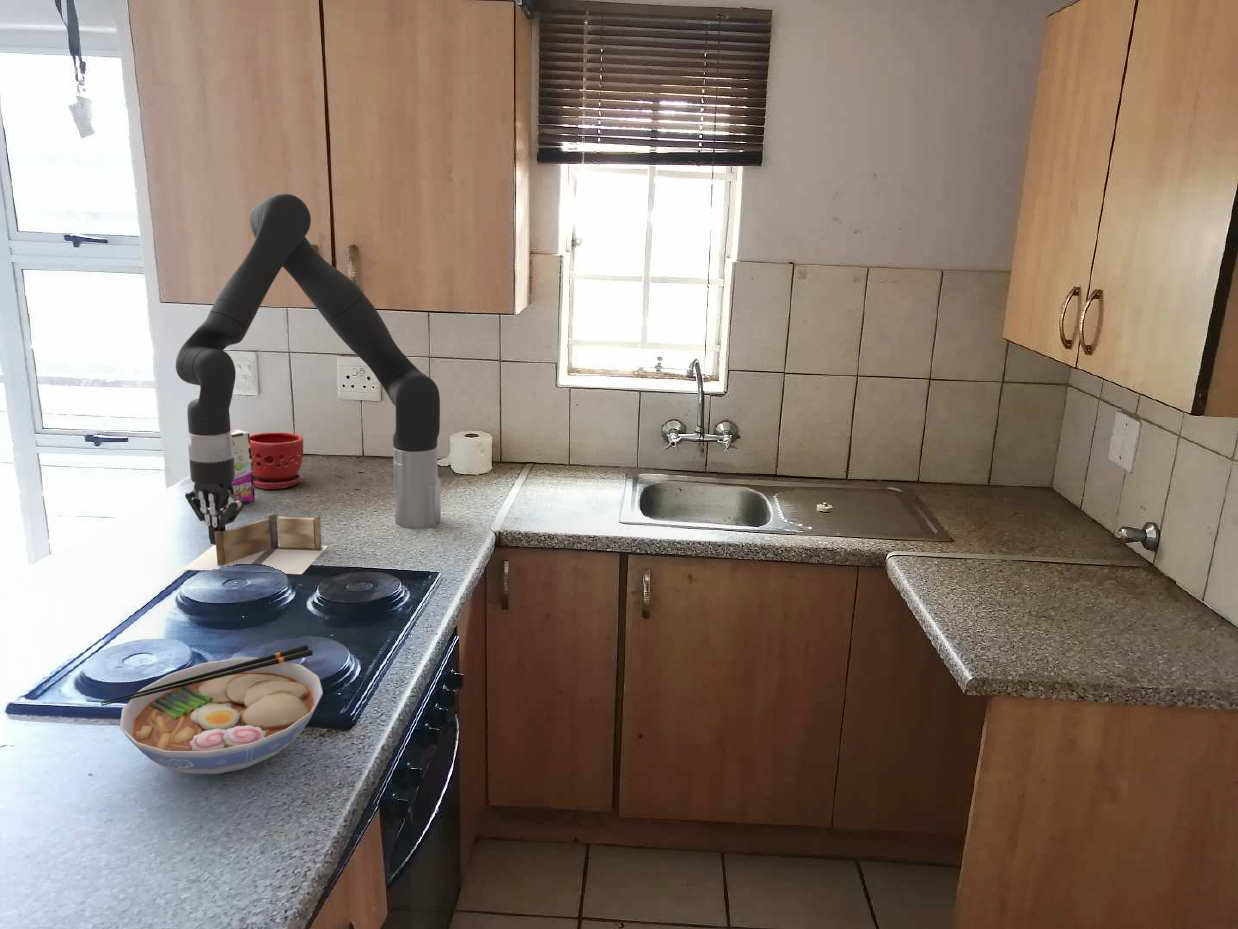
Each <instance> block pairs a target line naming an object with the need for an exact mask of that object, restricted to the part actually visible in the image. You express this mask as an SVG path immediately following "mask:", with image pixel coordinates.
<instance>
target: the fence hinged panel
mask: <svg viewBox="0 0 1238 929" xmlns="http://www.w3.org/2000/svg"><path fill="white" fill-rule="evenodd" d="M225 530H226V529H225ZM215 541H216V553H217V565H224V564H227V563H230V562H233V561H235V560H238V559H241V558H244V557H247V556H250V555H253V554H256V553H259V552H262V551H265V550H267V549H270V548H271V542H270V527H269V519H268V518H262V519H259V520H256V521H253V522H249V523H246V524H242V525H239V526H237V527H233V528H230V529H227V530H226V531H223V532H222V531H216V532H215Z"/></svg>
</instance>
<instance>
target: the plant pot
mask: <svg viewBox="0 0 1238 929" xmlns="http://www.w3.org/2000/svg"><path fill="white" fill-rule="evenodd" d="M249 437H250V448H251V459H252V470H253V482H254V487H256V488H260V490H261V489H263V490H264V489H265V490H281V489H285V488H289V487H292V486H295V485H296V484H298V483H299V482H300V480H301V475H300V474H299V471H300V470H301V467H302V463H303V458H304V438H303V436H301V435H299V434H295V433H290V432H261V433H255V434H250V435H249Z"/></svg>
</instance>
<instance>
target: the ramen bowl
mask: <svg viewBox="0 0 1238 929" xmlns="http://www.w3.org/2000/svg"><path fill="white" fill-rule="evenodd" d="M311 656H314V654H313V650H312V649H309V645H308V644H303V645H299V646H295V647H291V648H289V649H286V650H282V651H279V652H277V653H272V654H268V655H264V656H261V657H235V658H228V659H221V660H215V661H210V662H202V663H199V664H197V665H192V666H190V667H188V668H184V669H181V670H177V671H174V672H171V673H169V674H167V675H165V676H162V677H160V678H159V679H158V680H155V681H154V682H152V683H150V684H148V685H146V686H144V687H143V688H141V689H139V690H138V691H136V692H133V693H130V694H127V695H122V696H119V697H116V698H112V699H108V700H104V701H101V702H100V704H101V705H100V707H103V706H107V705H112V704H116V703H120V702H124V701H128V700H129V701H128V702H127V703H126V704H125V705H124V706H123V707H122V709H121V715H120V721H119V729H120V730H121V731H122V733H123V734H124V735H125V737H127V739H128V740H129V741H130V742H131V743H132V744H133V745H134V746H135V747H136V748H137V749H138V750H139V751H140V752H141V753H142V754H144V756H146V757H147V758H149V760H151V762H154V763H156V764H158V765H159V766H161V767H165V768H167V769H171V770H173V771H178V772H180V773H185V774H190V775H191V774H192V775H193V774H198V775H199V774H201V775H203V774H205V775H210V774H211V775H215V774H216V775H218V774H223V773H228V772H233V771H238V770H239V771H240V770H243V769H244V770H245V769H246V768H248V767H249V768H250V767H251V766H253V765H256V764H258V763H261V762H263V761H265V760H268V759H270V758H272V757H274V756H276V755H277V754H278V753H279V752H281V751H282V750H283V749H285V748H286V747H288V746H289V745H290V744H292V742H294V741H295V740H296V739H297V738H298V737H299V736H300V734H302V732H303V731H304V729H305V727H306V726H307V725H308V723H309V722H310V721H311V720H310V719H311V718H312V716H313V714H314V712H315V711H316V708H317V707H318V704H319V702H320V701H321V699H322V696H323V695H324V691H323V687H322V683H321V678H320V676H318V674H316V673H314V672H313V671H311V670H310V669H309V668H307V667H305V666H304V665H302V664H301V663H296V662H291V661H295V660H298V659H303V658H308V657H311Z"/></svg>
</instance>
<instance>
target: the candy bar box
mask: <svg viewBox="0 0 1238 929" xmlns="http://www.w3.org/2000/svg"><path fill="white" fill-rule="evenodd" d="M230 431H231V436H232V441H233V452H234V468H235V478H234V479H233V481H232V487H233V489H234V496H235V497H236V498H237V499H238V500H243V501H244V502H245V504H247V503H252V502H254V501H256V497H255V495H256V493H255V486H254V482H253V470H252V459H251V448H250V437H249V436H250V432H249V431H246V430H243V429H231V430H230Z"/></svg>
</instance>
